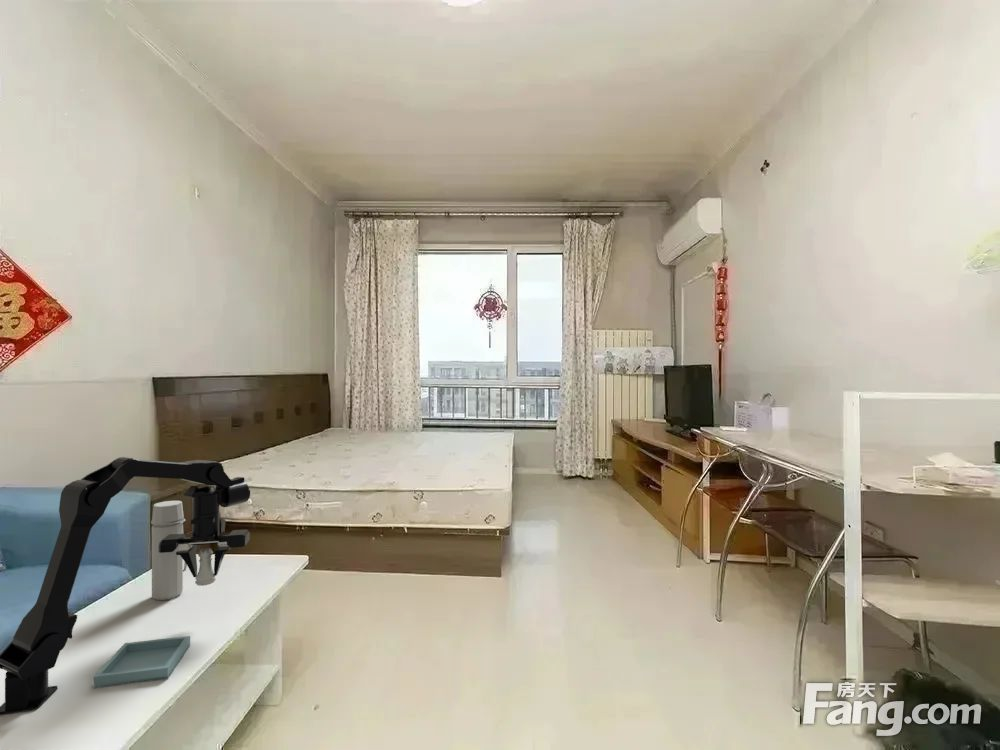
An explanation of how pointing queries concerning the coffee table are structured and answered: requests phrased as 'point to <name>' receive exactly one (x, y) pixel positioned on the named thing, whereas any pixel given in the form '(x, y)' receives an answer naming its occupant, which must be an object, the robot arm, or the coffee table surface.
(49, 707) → the coffee table surface
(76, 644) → the coffee table surface
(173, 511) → the water bottle
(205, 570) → the rook chess piece
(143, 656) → the slate tray
